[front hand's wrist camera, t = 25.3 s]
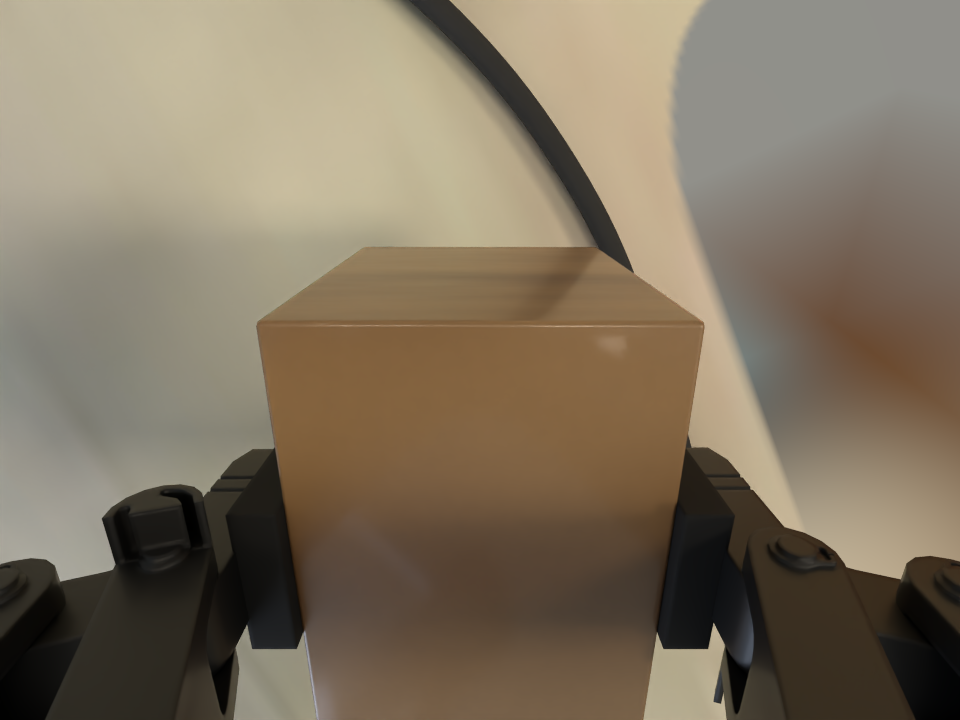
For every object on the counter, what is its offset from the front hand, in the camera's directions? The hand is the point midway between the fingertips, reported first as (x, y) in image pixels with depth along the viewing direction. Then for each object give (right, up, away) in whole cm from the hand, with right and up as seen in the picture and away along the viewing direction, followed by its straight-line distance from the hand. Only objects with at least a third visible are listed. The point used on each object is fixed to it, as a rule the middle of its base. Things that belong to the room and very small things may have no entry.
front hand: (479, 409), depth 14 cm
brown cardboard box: (0, 0, +1) cm, 1 cm away
